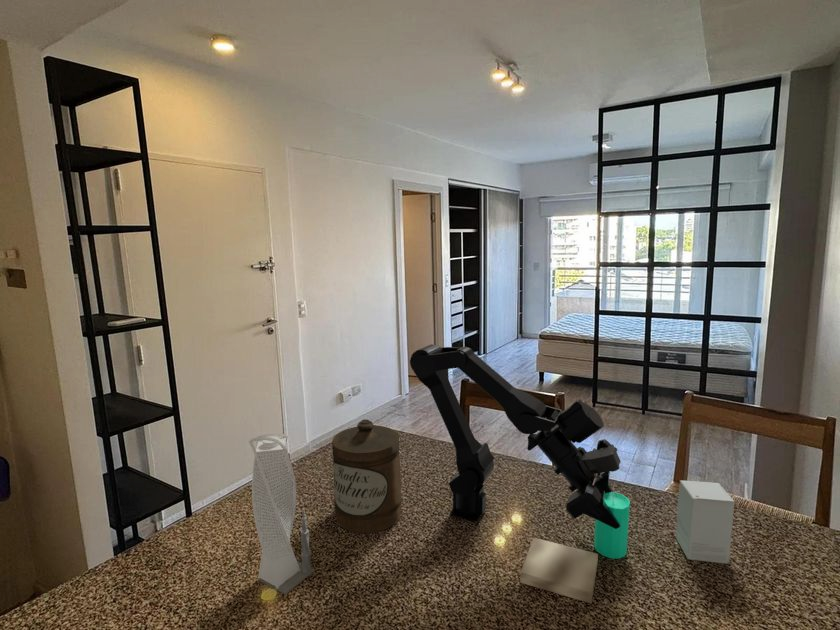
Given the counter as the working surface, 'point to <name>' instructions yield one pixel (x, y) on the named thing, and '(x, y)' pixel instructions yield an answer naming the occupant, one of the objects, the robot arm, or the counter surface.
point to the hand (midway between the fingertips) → (619, 519)
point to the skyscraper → (277, 515)
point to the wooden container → (367, 478)
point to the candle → (608, 537)
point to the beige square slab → (560, 569)
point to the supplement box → (704, 521)
